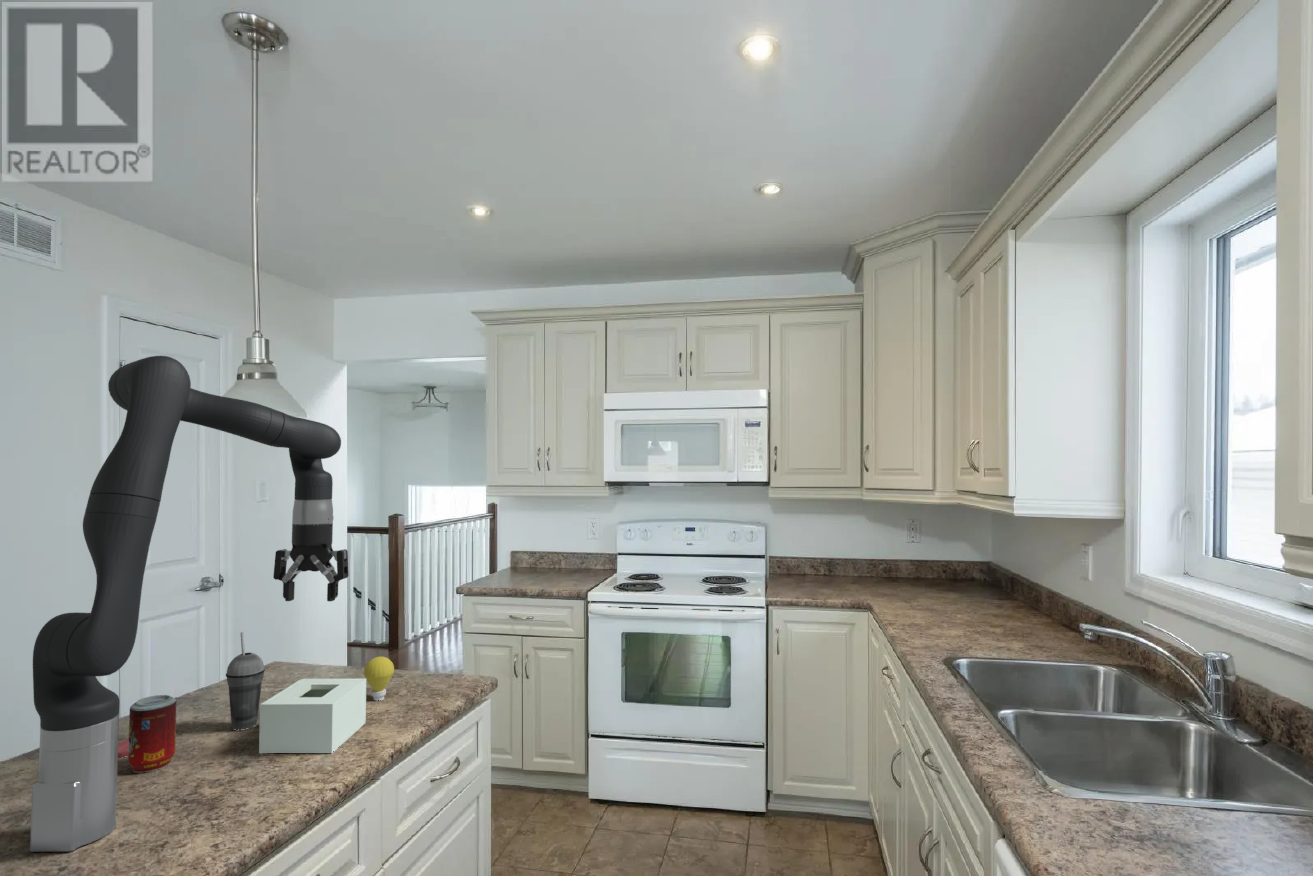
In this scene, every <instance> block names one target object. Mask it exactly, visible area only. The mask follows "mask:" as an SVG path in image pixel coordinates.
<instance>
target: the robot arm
mask: <svg viewBox="0 0 1313 876" xmlns="http://www.w3.org/2000/svg"><path fill="white" fill-rule="evenodd" d="M191 385H192V383H191V378H190V375H189V372H188V371H187V369H186V367H185V366H184V365H183V364H182V363H181V362H180V361H179V360H178V359H176V358H174V357H170V356H166V355H153V356H147V357H144V358H140V359H138V360H134V361H131V362H129V363H127V364H124V365H122V366H121V367H119V368H117V369H116V370H115V371H114V372H113V373H112V374H111V376H110V377H109V380H108V385H107V386H108V387H107V388H108V392H109V396H110V397H111V399H112V400H113V401H114V403H115V404H116V405H117V406H118V407H120V408H121V409H123V410H125V411H126V415H125V416H126V417H125V421H124V425H123V428H122V431H121V433H120V435H119V438H118V440H117V442H116V444H115V445H114V446H113V448H112V450H111V451H110V453H109V454H108V455H107V457H106V460H104V462H103V464H102V466H101V467H100V469H99V471H98V473H97V475H96V477H95V479H94V481H93V483H92V486H91V489H90V493H89V496H88V500H87V502H86V503H87V504H86V507H85V511H84V515H83V519H82V533H83V537H84V540H85V543H86V546H87V550H88V552H89V554H90V556H91V560H92V562H93V566H94V570H95V575H96V587H95V588H96V589H95V594H94V599H93V604H92V608H91V611H90V612H66V613H62V614H59V615H56V616H54V617H53V618H52V617H51V618H50V619H49V620H47V622H45V624H44V625H43V626H42V627H41V629H40V630H39V632H38V635H37V636H36V638H35V641H34V645H33V651H32V682H33V683H32V689H33V704H34V705H33V706H34V707H35V708H34V709H35V710H36V712H37V715H38V716H39V721H40V724H39V727H40V729H39V747H38V748H39V749H38V750H39V751H38V753H39V754H38V756H39V757H38V776H37V778H38V780H37V781H38V782H36V783H34V784H33V785H32V788H31V810H30V811H31V814H30V815H31V816H30V835H29V836H30V838H29V839H30V840H29V852H32V853H33V852H35V853H36V852H37V853H38V852H42V853H43V852H73V851H75V850H76V849H78V848H80V847H82V846H85V845H87V844H88V845H89V844H91V843H93V842H95V841H98V840H100V839H101V838H104V837H106V836H107V835H108V834H111V832H113V830H114V829H115V828H116V824H117V820H116V819H117V796H118V795H117V794H118V792H117V791H118V790H117V789H118V766H119V765H118V764H119V763H118V761H119V759H118V743H119V733H120V732H119V731H120V698H119V697H120V696H119V695H118V694H117V693H116V692H114V691H113V690H110V689H109V688H107V687H106V686H104V685H103V684H102V683H101V682H100V681H99V679H98V678H97V677H106V676H111V675H112V674H114V673H116V672H118V671H119V670H120V669H121V668H122V667H123V666H124V665H125V664H126V663H127V661H128V660H129V658H130V656H131V653H132V652H133V650H134V646H135V643H136V638H137V633H138V624H139V618H140V608H141V607H140V606H141V598H142V592H143V583H144V575H145V571H146V565H147V560H148V555H149V550H150V545H151V542H152V537H153V532H154V529H155V527H156V523H157V520H158V519H157V518H158V514H159V510H160V506H161V505H160V504H161V500H162V495H163V490H164V484H165V480H166V475H167V471H168V468H169V463H170V458H171V453H172V448H173V445H174V444H173V443H174V440H175V436H176V433H177V431H178V428H179V425H180V422H185V423H189V424H194V425H198V426H202V427H207V428H210V429H213V430H217V431H220V432H224V433H228V434H231V435H234V436H238V437H240V438H243V439H248V440H250V441H253V442H257V443H260V444H263V445H266V446H270V447H274V448H286V449H288V453H289V459H290V464H291V469H292V472H293V476H294V500H293V508H292V522H291V547H292V548H291V549H290V550H288V549H285V548H284V549H278V550H276V551H275V554H274V555H275V556H274V566H273V567H274V568H273V575H272V576H273V579H274V580H277V581H278V580H279V581H281V582H282V597H283V599H284V601H285V602H291V601H294V600H295V584H296V583H295V582H296V581H294V580H295V579H296V578H297V576H298V575H299V574H300V573H301V572H308V571H310V572H320V574H322V575H323V576H324V577H325V578H326V580H327V581H328V583H327V587H326V588H327V589H326V591H327V592H326V601H327V602H334V601H335V600H336V598H338V596H339V583H340V581H341V580H345V579H347V578H349V554H348V553H349V551H348V549H339V550H334V549H333V546H332V545H333V533H334V532H333V528H334V526H333V525H334V524H333V523H334V507H333V506H334V505H333V482H334V481H333V476H332V474H331V473H330V472H328V471H326V470H324V466H323V461H322V460H323V459H324V460H325V459H329V458H332V457H333V456H335V455H337V453H338V452H339V451H340V449H341V446H342V438H341V435H340V434H339V433H338V431H336V429H335V428H334V427H332V426H330V425H328V424H326V423H322V422H320V421H316V420H311V419H306V418H302V417H297V416H293V415H290V414H287V413H284V412H282V411H280V410H277V409H274V408H272V407H269V406H265V405H262V404H260V403H256V402H253V401H250V400H249V401H248V400H245V399H244V400H243V399H240V398H233V397H228V396H221V395H216V394H212V393H208V392H205V391H201V390H197V389H195V388H192V387H191ZM290 558H291V560H292V562H293V563H292V565H290V567H289V568H288V569H287V562H288V561H289V559H290ZM332 558H334V561H336V568H335V566H333V564H332V562H331V560H332Z"/></svg>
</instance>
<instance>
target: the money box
mask: <svg viewBox="0 0 1313 876" xmlns="http://www.w3.org/2000/svg"><path fill="white" fill-rule="evenodd" d="M366 716H367V680H366V678H365V677H364V678H301V679H299V680H298V681H296V682H295V683H292V684H291V685H289V686H288V687H286V688H284V689H283V690H281V691H279V692H278V693H277V694H275V695H272V696H271V697H270V698H268V699H266V700H265V701H263V702H262V703H259V735H258V736H259V741H258V743H259V744H258V754H259V753H293V752H294V753H332V754H333V753H334V752H335V751H336V750H337V749H339V748H340V747H341V746H342V745H343V744H344V743H346V741H347V740H348V739H350V737H352V736H353V735H354V734H355V733H356V732H357V731H359V729H361V728H362V726H364V725H365V724H366V723H367V722H366V721H367V720H366V718H367V717H366ZM339 746H340V747H339ZM338 747H339V748H338ZM333 751H334V752H333Z"/></svg>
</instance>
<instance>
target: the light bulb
mask: <svg viewBox="0 0 1313 876" xmlns="http://www.w3.org/2000/svg"><path fill="white" fill-rule="evenodd" d="M363 671H364V672H363V675H364V679H365V678H366V683H368V684H369V686H370V687H371V688H372V690H371V696H372V697H373V699H372V700H373V701H374V700H375V701H374V702H380V700H381V701H384V700H385V695H386V694H387V689H386V687H387V685H389V683H390V681H391V680H392V677H393V675H394V673H395V665H394V663H393V662H392V661H391V660H390V658H388V657H385V656H376V657H374V658H372V659H370V660H369V661H368V662H367V663H366V665H365V667H364V670H363ZM378 700H379V701H378Z"/></svg>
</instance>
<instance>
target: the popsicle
mask: <svg viewBox="0 0 1313 876" xmlns="http://www.w3.org/2000/svg"><path fill="white" fill-rule="evenodd" d="M128 752H129V737H127V738H125V739H124V740H122V741H120V742H118V760H120V759H119V758H121V759H123V758H122V757H125V756H128ZM125 758H126V757H125Z"/></svg>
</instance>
